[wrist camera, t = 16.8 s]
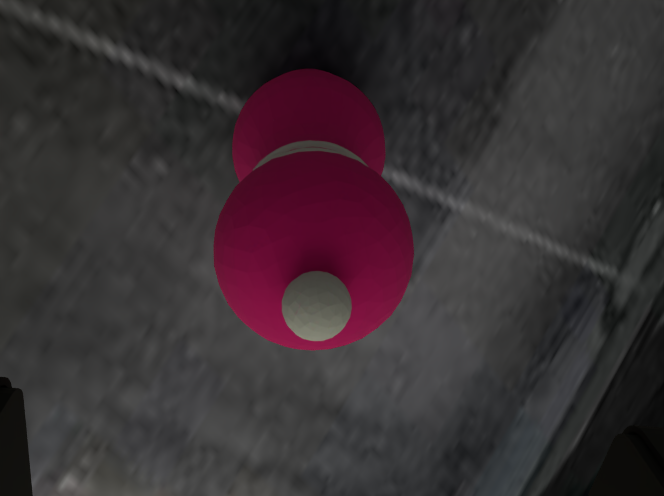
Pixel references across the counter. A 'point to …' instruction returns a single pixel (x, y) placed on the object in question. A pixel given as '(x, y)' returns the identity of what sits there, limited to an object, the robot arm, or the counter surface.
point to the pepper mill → (311, 216)
